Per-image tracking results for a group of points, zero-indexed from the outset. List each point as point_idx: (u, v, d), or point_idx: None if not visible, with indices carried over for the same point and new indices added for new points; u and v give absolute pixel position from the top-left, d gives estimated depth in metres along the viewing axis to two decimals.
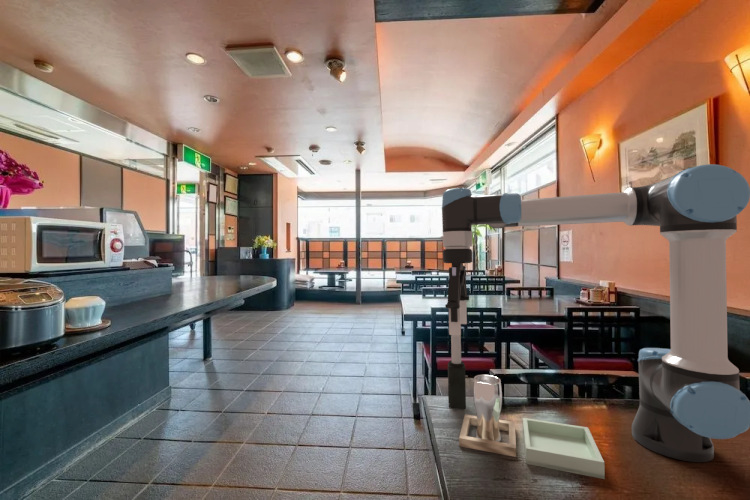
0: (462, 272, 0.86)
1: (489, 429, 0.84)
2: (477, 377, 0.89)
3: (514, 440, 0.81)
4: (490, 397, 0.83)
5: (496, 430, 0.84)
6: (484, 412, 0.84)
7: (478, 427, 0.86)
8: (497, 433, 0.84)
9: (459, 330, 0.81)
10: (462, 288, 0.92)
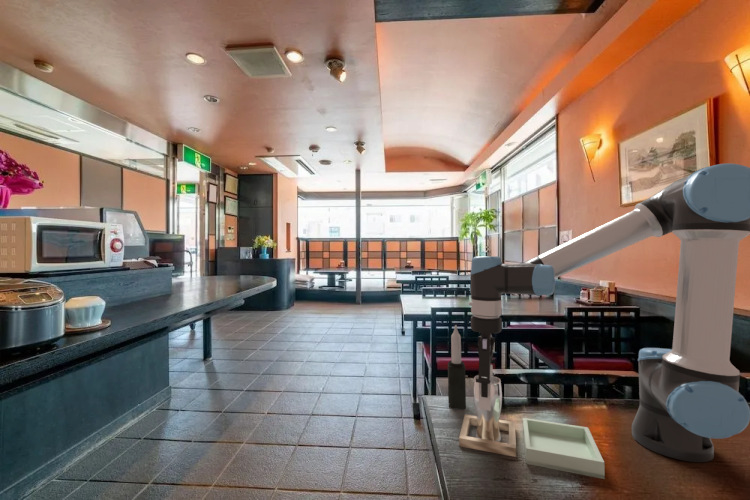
0: (491, 342, 0.85)
1: (489, 429, 0.84)
2: (477, 377, 0.89)
3: (514, 440, 0.81)
4: None
5: (496, 430, 0.84)
6: (484, 412, 0.84)
7: (478, 427, 0.86)
8: (497, 433, 0.84)
9: (489, 405, 0.80)
10: None
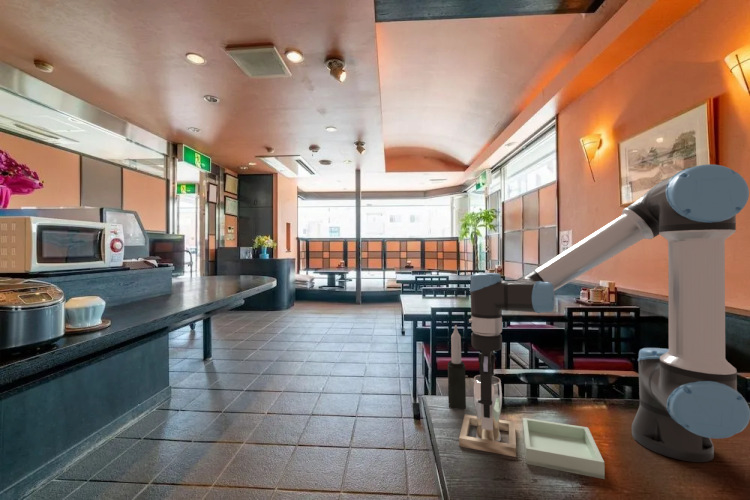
0: (492, 360, 0.85)
1: None
2: (477, 377, 0.89)
3: (514, 440, 0.81)
4: None
5: (496, 430, 0.84)
6: None
7: (478, 427, 0.86)
8: (497, 433, 0.84)
9: (491, 425, 0.83)
10: None
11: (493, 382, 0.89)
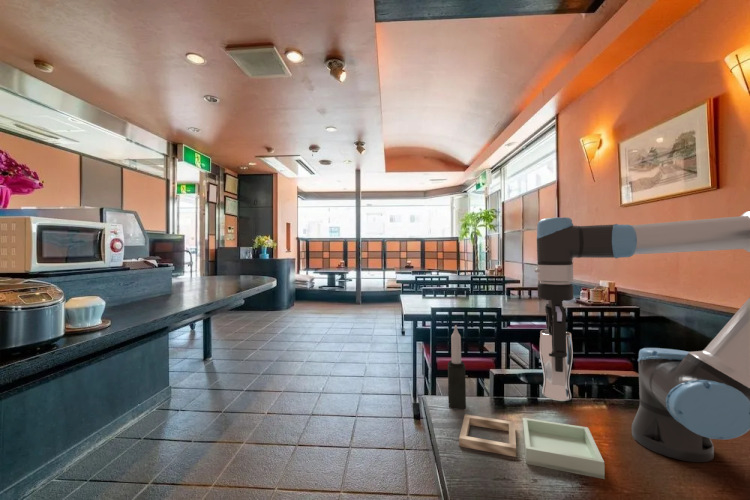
0: (563, 311, 0.78)
1: (559, 385, 0.78)
2: (543, 332, 0.83)
3: (514, 440, 0.81)
4: None
5: (567, 386, 0.78)
6: None
7: (546, 384, 0.80)
8: (568, 390, 0.78)
9: (564, 380, 0.76)
10: None
11: None
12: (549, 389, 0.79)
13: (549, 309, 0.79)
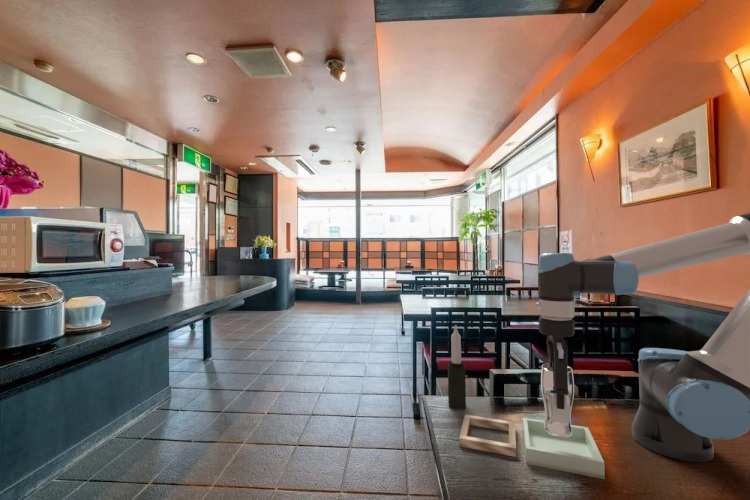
0: (564, 347, 0.78)
1: None
2: (544, 366, 0.82)
3: (514, 440, 0.81)
4: None
5: (568, 422, 0.78)
6: None
7: (547, 419, 0.80)
8: (569, 426, 0.78)
9: (565, 417, 0.76)
10: None
11: None
12: (550, 425, 0.79)
13: (550, 344, 0.79)
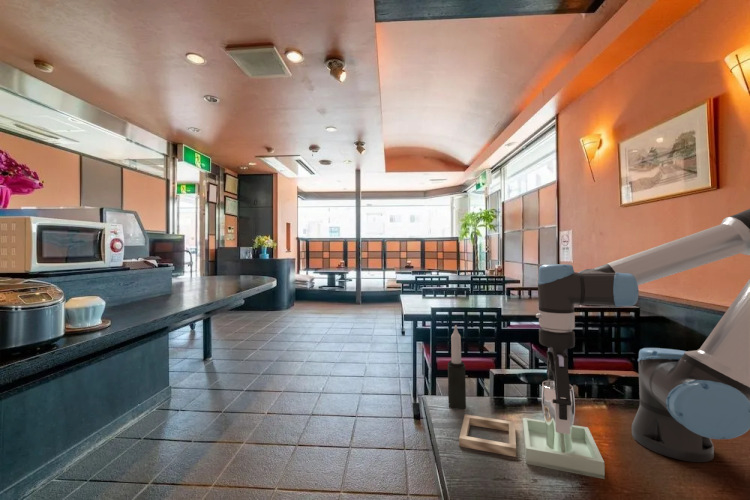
0: None
1: (562, 440, 0.78)
2: (544, 383, 0.83)
3: (514, 440, 0.81)
4: None
5: (570, 441, 0.78)
6: None
7: (548, 437, 0.80)
8: (571, 444, 0.78)
9: (568, 428, 0.73)
10: None
11: None
12: (552, 443, 0.79)
13: (551, 355, 0.79)
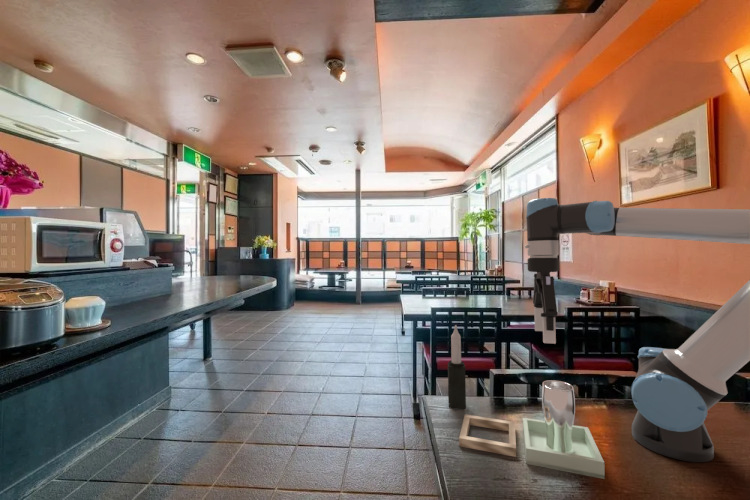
0: None
1: (562, 440, 0.78)
2: (545, 383, 0.83)
3: (514, 440, 0.81)
4: (564, 405, 0.77)
5: (570, 441, 0.78)
6: (556, 421, 0.78)
7: (548, 437, 0.80)
8: (571, 444, 0.78)
9: (554, 338, 0.82)
10: None
11: (562, 388, 0.82)
12: (552, 443, 0.79)
13: (538, 279, 0.89)
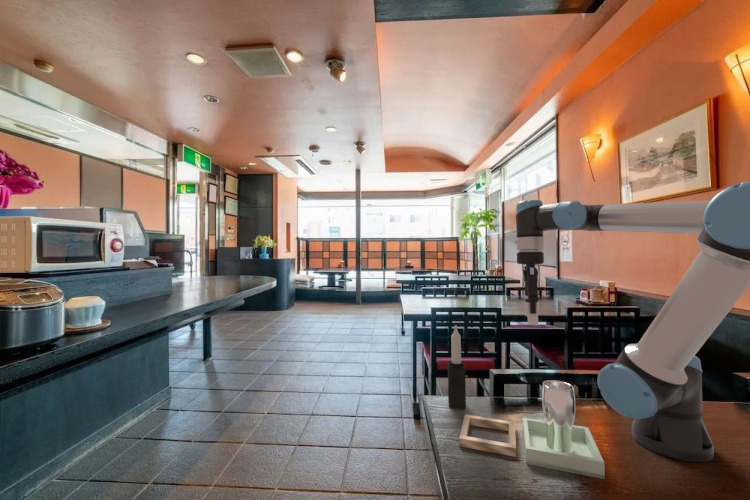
0: None
1: (562, 440, 0.78)
2: (545, 383, 0.83)
3: (514, 440, 0.81)
4: (564, 405, 0.77)
5: (570, 441, 0.78)
6: (557, 421, 0.78)
7: (548, 437, 0.80)
8: (571, 444, 0.78)
9: (537, 320, 0.96)
10: None
11: (563, 388, 0.82)
12: (552, 443, 0.79)
13: (525, 271, 1.02)
